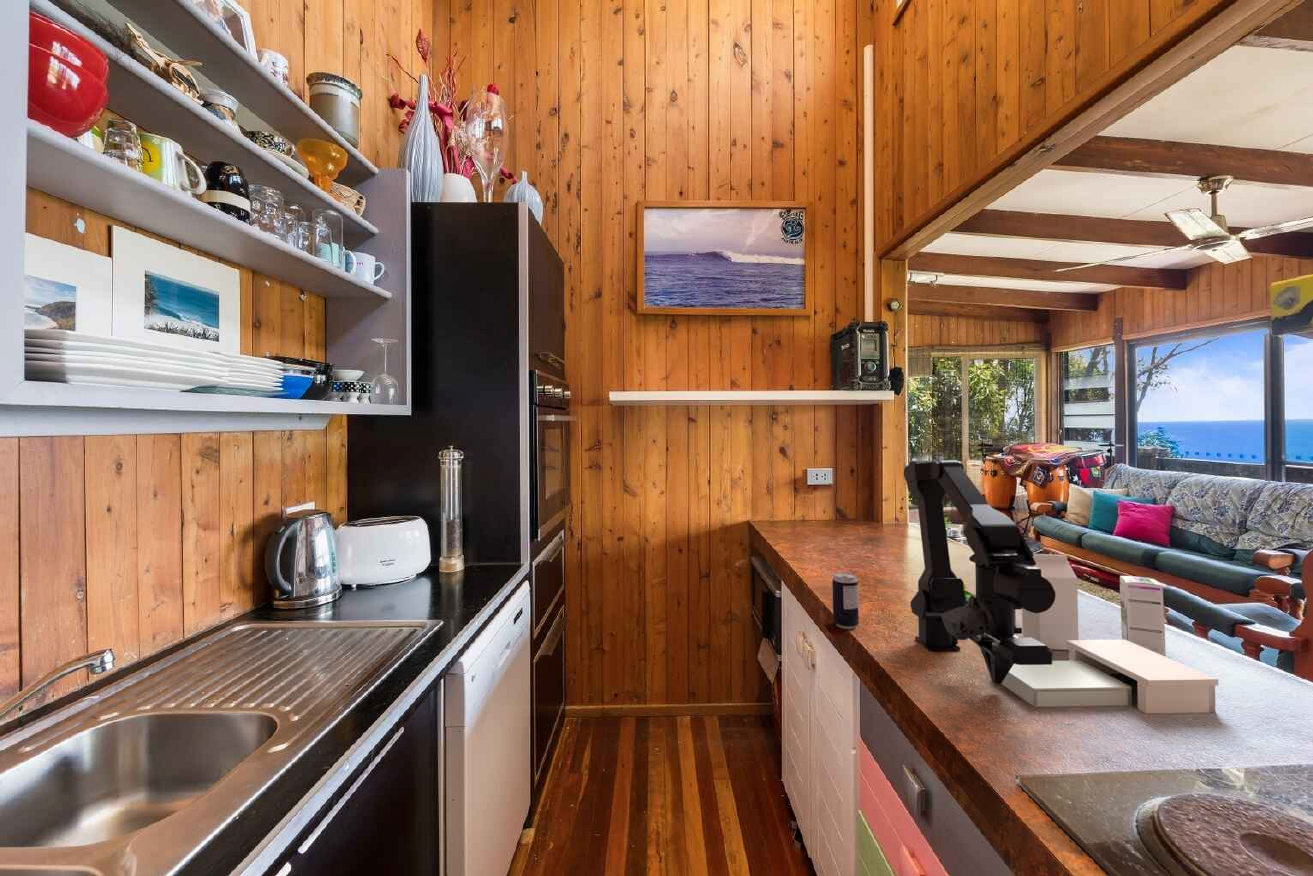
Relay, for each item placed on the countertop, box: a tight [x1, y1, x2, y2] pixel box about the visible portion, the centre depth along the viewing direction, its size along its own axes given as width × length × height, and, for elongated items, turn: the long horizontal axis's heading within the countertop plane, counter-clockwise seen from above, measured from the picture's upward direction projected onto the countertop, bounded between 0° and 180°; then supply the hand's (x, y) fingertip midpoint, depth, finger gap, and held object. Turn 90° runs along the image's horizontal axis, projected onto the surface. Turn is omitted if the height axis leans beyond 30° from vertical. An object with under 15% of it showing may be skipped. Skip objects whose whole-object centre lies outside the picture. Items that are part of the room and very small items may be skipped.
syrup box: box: [1119, 575, 1167, 657], centre depth 104 cm, size 6×6×14 cm
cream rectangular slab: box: [1000, 660, 1133, 708], centre depth 88 cm, size 16×10×3 cm, turn 90°
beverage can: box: [831, 571, 860, 630], centre depth 120 cm, size 6×6×12 cm
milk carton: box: [1021, 553, 1079, 651], centre depth 108 cm, size 7×7×19 cm
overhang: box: [1067, 638, 1219, 714], centre depth 88 cm, size 11×16×6 cm
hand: (996, 683), depth 88 cm, fingers closed
